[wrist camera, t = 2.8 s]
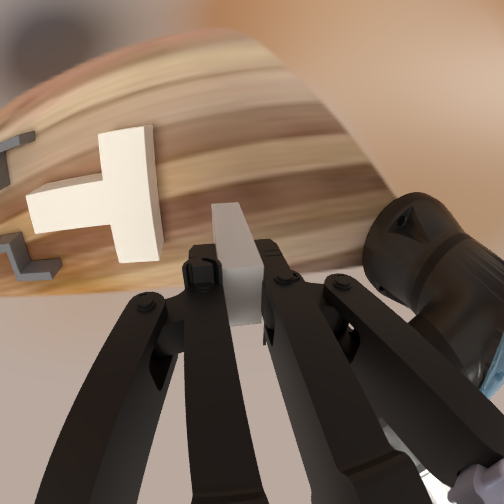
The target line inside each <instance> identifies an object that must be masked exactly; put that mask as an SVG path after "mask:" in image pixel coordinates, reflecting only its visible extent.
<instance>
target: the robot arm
mask: <svg viewBox="0 0 504 504" xmlns="http://www.w3.org/2000/svg"><path fill="white" fill-rule="evenodd" d="M211 207H212V227H213V244H202V245H193V247H192V248H191V249H190V250H189V260H187V261H186V262H185V263H184V264H183V266H182V271H183V278H184V284H185V290H184V291H183V292H181V293H180V294H179V295H176V296H174V297H171V298H168V299H164V297H163V296H162V295H160V294H159V293H156V292H144V293H140V294H138V295H136V296H134V297H133V298H132V299H131V300H130V301H129V303H128V304H127V306H126V308H125V309H124V311H123V312H122V314H121V316H120V317H119V319H118V321H117V322H116V324H115V326H114V328H113V329H112V331H111V333H110V334H109V336H108V338H107V340H106V342H105V343H104V345H103V347H102V349H101V351H100V352H99V354H98V356H97V358H96V360H95V362H94V364H93V365H92V367H91V369H90V371H89V373H88V375H87V377H86V379H85V381H84V383H83V385H82V387H81V389H80V391H79V393H78V395H77V397H76V399H75V401H74V404H73V406H72V408H71V410H70V412H69V414H68V416H67V418H66V421H65V423H64V425H63V428H62V430H61V432H60V434H59V437H58V439H57V442H56V444H55V447H54V449H53V452H52V454H51V457H50V459H49V462H48V465H47V467H46V471H45V473H44V476H43V479H42V481H41V484H40V488H39V491H38V494H37V498H36V500H35V504H137V500H138V495H139V491H140V487H141V483H142V479H143V475H144V472H145V468H146V464H147V460H148V456H149V453H150V449H151V445H152V442H153V438H154V435H155V431H156V428H157V424H158V420H159V417H160V414H161V410H162V407H163V404H164V400H165V397H166V394H167V390H168V387H169V384H170V380H171V377H172V374H173V371H174V368H175V364H176V361H177V358H178V353H181V352H184V379H185V406H186V425H187V439H188V452H189V463H190V473H191V482H192V492H193V498H192V502H191V504H269V502H268V499H267V497H266V494H265V492H264V489H263V486H262V482H261V478H260V475H259V470H258V466H257V461H256V457H255V452H254V448H253V443H252V439H251V434H250V429H249V425H248V420H247V415H246V410H245V405H244V401H243V395H242V390H241V385H240V380H239V375H238V369H237V364H236V359H235V353H234V347H233V342H232V337H231V330H230V326H239V325H249V324H258V323H261V318H262V316H263V319H264V335H263V345H266V341H267V345H268V348H269V352H270V355H271V358H272V361H273V365H274V369H275V372H276V375H277V379H278V382H279V385H280V389H281V392H282V395H283V399H284V402H285V405H286V409H287V412H288V415H289V418H290V422H291V425H292V428H293V432H294V435H295V438H296V442H297V445H298V448H299V451H300V454H301V457H302V461H303V464H304V467H305V471H306V474H307V477H308V480H309V483H310V487H311V492H312V494H311V501H312V504H504V415H503V414H502V413H501V412H500V411H499V410H498V408H496V406H495V405H494V404H493V403H492V402H491V401H490V400H489V399H490V398H491V397H492V396H493V395H494V394H495V393H496V392H497V391H498V389H499V388H500V387H501V386H502V385H503V383H504V261H503V260H502V259H501V258H500V257H498V256H497V255H496V254H494V253H493V252H491V251H490V250H489V249H488V248H486V247H485V246H483V245H482V244H481V243H479V242H478V241H476V240H475V239H473V238H472V237H470V236H469V235H468V234H466V233H465V232H464V230H463V229H462V228H461V226H460V225H459V224H458V222H457V221H456V220H455V218H454V217H453V216H452V214H451V213H450V212H449V210H448V209H447V208H446V207H445V206H444V205H443V204H442V203H441V202H440V201H439V200H437V199H435V198H433V197H431V196H430V195H427V194H425V193H420V192H414V193H409V194H406V195H404V196H401V197H400V198H398V199H396V200H395V201H393V202H392V203H391V204H390V205H389V206H388V207H387V208H386V209H385V210H384V211H383V212H382V213H381V214H380V216H379V217H378V218H377V220H376V221H375V223H374V225H373V226H372V228H371V230H370V232H369V235H368V237H367V240H366V243H365V247H364V252H363V268H364V272H365V275H366V277H367V278H368V280H369V281H370V283H371V284H372V285H373V286H374V287H375V288H376V289H377V291H379V292H380V293H381V294H383V295H384V296H386V297H388V298H390V299H392V300H394V301H396V302H398V303H400V304H402V305H404V306H406V307H408V308H410V309H411V310H412V311H413V312H414V313H415V314H416V316H415V317H414V318H413V319H412V320H411V321H410V322H408V323H407V322H405V321H404V320H403V319H402V318H401V317H400V316H398V315H397V314H396V313H395V312H394V311H393V310H392V309H390V308H389V307H388V306H387V305H386V304H385V303H383V302H382V301H381V300H380V299H379V298H377V297H376V296H375V295H374V294H373V293H371V292H370V291H369V290H368V289H367V288H365V287H364V286H363V285H362V284H361V283H359V282H358V281H357V280H356V279H354V278H352V277H351V276H348V275H345V274H331V275H329V276H327V278H326V279H325V282H324V284H317V283H309V282H305V281H304V279H303V277H302V276H301V275H300V274H299V273H297V272H296V271H294V270H290V268H289V266H288V264H287V262H286V260H285V258H284V257H283V256H282V253H281V251H280V249H279V247H278V245H277V244H276V243H275V242H273V241H272V240H270V239H260V240H253V237H252V235H251V232H250V230H249V227H248V225H247V222H246V220H245V217H244V215H243V212H242V210H241V207H240V205H239V202H235V203H218V204H211ZM349 323H350V324H351V325H352V326H353V327H354V330H352V329H351V328H350V327H349V326H348V325H349Z"/></svg>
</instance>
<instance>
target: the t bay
mask: <svg viewBox="0 0 504 504" xmlns="http://www.w3.org/2000/svg"><path fill="white" fill-rule="evenodd" d="M34 140H35V134H34V131H33V132H29V133H25V134H21V135H18V136H15V137H13V138H10V139H8V140H5V141H3V142H1V143H0V190H1V189H3V188H4V187H6V186H8V185H10V181H9V175H8V169H7V162H6V154H5V151H7V150H9V149H12V148H14V147H17V146H20V145H23V144H25V143H28V142H31V141H34ZM2 252H7V255H8V257H9V260H10V263H11V265H12V268H13V271H14V273H15V275H16V278H17V280H18V281H36V280H53V278H54V277H55V275H56V274H57V272H58V271H59V270H60V268H61V267H62V263H61V260H60V258H58V259H47V260H35V261H31V260H30V257H29V254H28V251H27V248H26V245H25V242H24V239H23V235H22V232H17V233H12V234H6V235H0V253H2Z"/></svg>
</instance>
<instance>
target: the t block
mask: <svg viewBox="0 0 504 504" xmlns="http://www.w3.org/2000/svg"><path fill="white" fill-rule="evenodd" d="M98 140H99V151H100V160H101V169H102V173H97V174H91V175H86V176H80V177H75V178H70V179H65V180H60V181H56V182H51V183H47V184H44V185H42V186H40V187H39V188H37V189H36V190H34V191H32V192H31V193H29V194H28V195H26V199H27V204H28V208H29V212H30V216H31V220H32V224H33V227H34V231H35V234H37V233H44V232H51V231H59V230H66V229H74V228H82V227H91V226H99V225H108V224H111V229H112V233H113V238H114V243H115V247H116V251H117V255H118V259H119V263H131V262H145V261H158V260H159V259H160V255H161V251H162V247H163V243H164V237H163V230H162V223H161V215H160V207H159V198H158V189H157V178H156V167H155V154H154V138H153V125H145V126H138V127H131V128H125V129H119V130H113V131H109V132H105V133H101V134H98Z"/></svg>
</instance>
